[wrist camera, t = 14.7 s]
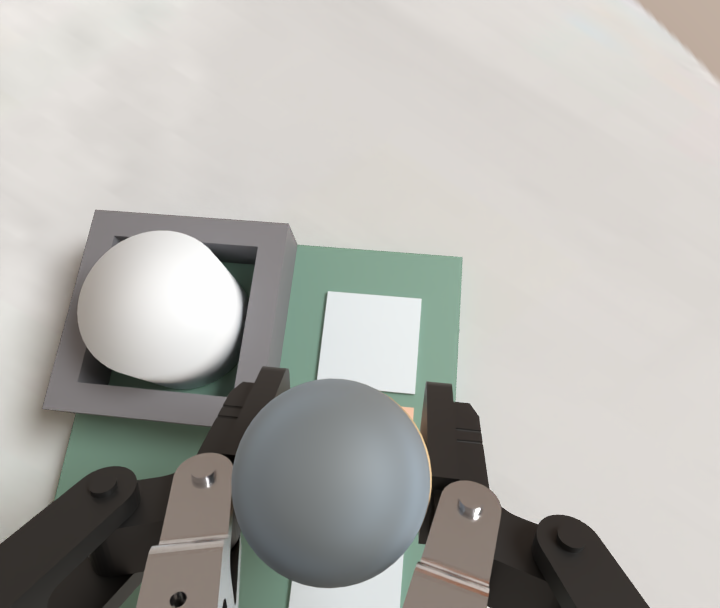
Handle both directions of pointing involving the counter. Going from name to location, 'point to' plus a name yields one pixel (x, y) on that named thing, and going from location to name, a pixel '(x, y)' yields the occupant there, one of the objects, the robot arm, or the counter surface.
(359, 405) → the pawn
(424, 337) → the board
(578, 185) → the counter surface
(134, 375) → the dome button
